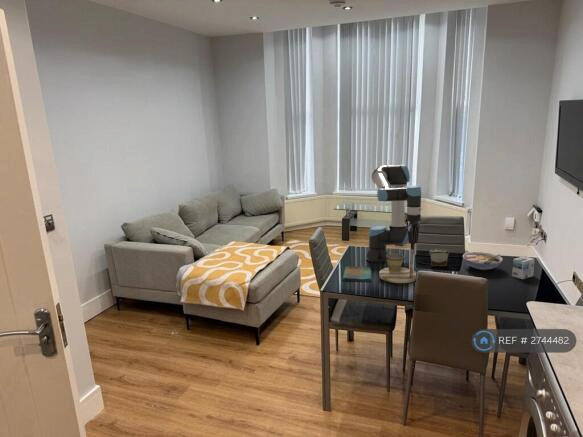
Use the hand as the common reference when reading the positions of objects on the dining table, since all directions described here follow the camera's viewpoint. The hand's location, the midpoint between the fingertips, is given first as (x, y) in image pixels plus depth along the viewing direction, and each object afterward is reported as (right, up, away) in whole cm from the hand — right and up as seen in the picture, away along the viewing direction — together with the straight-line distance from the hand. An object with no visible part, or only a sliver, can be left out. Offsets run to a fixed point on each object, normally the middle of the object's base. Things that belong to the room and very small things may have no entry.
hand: (413, 254), depth 228 cm
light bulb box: (+67, -14, +7) cm, 68 cm away
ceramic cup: (-6, -12, +13) cm, 19 cm away
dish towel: (-28, -15, +21) cm, 39 cm away
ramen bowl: (+50, -11, +23) cm, 56 cm away
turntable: (-6, -14, +10) cm, 19 cm away
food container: (+26, -10, +34) cm, 44 cm away
